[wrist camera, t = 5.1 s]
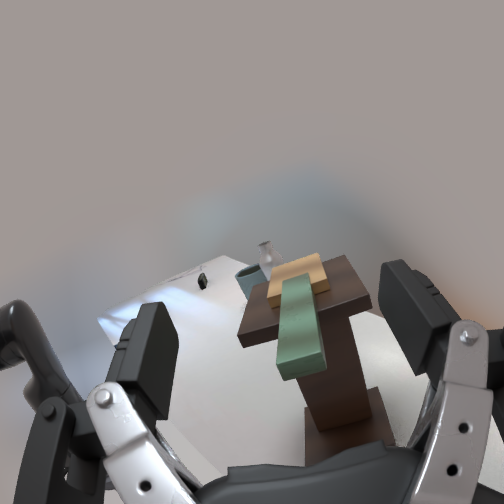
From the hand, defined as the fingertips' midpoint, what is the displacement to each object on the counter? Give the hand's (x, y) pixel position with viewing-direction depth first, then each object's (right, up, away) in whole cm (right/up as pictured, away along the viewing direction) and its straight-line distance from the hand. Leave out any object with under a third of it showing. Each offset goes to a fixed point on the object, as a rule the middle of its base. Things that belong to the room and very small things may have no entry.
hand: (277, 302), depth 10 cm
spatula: (+4, -3, +16) cm, 17 cm away
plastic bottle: (+10, -14, +73) cm, 75 cm away
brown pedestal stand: (+13, -24, +24) cm, 36 cm away
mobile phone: (-24, -14, +133) cm, 136 cm away
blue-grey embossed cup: (+3, -15, +83) cm, 85 cm away
